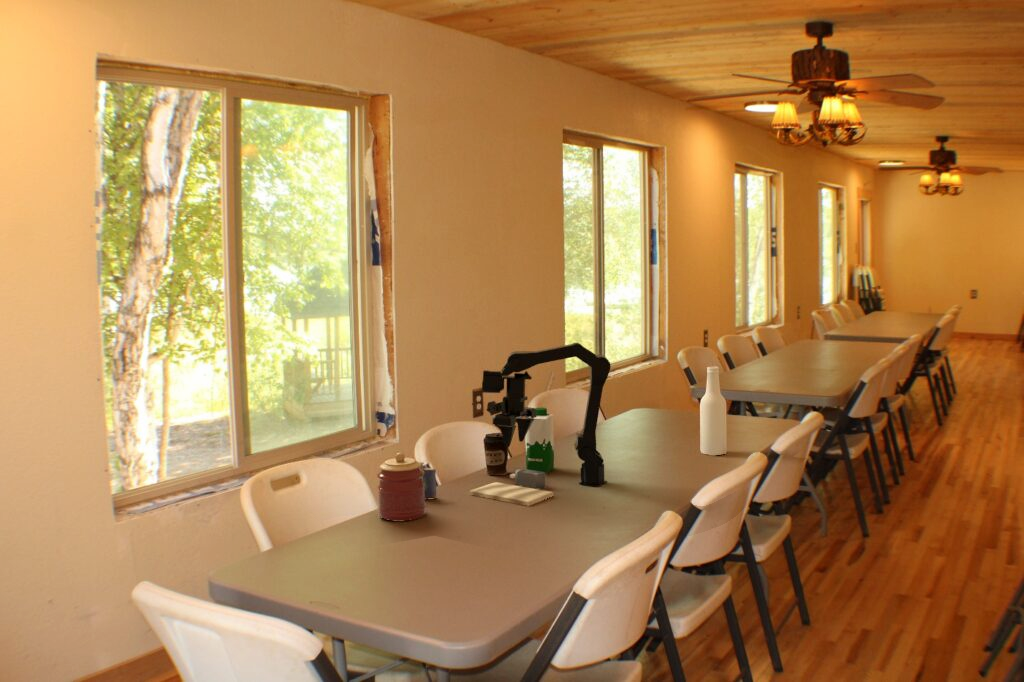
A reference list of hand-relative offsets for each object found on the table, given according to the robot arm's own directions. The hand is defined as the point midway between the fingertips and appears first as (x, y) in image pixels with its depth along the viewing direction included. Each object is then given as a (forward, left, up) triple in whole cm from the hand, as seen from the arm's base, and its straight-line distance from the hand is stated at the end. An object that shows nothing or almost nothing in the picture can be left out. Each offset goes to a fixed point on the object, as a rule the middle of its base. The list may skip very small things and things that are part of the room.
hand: (514, 444), depth 285 cm
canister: (+8, +41, -13) cm, 44 cm away
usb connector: (-3, -3, -13) cm, 14 cm away
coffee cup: (+15, -9, -13) cm, 22 cm away
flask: (+16, +25, -13) cm, 32 cm away
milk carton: (+6, -20, -13) cm, 25 cm away
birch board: (-5, +9, -13) cm, 17 cm away
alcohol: (-31, -70, -13) cm, 78 cm away
